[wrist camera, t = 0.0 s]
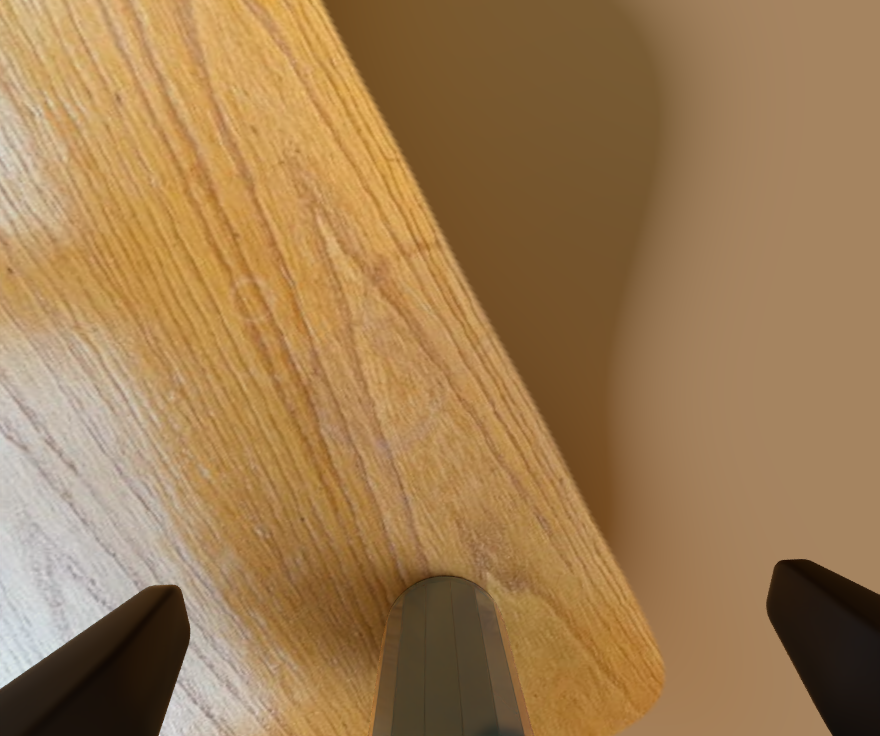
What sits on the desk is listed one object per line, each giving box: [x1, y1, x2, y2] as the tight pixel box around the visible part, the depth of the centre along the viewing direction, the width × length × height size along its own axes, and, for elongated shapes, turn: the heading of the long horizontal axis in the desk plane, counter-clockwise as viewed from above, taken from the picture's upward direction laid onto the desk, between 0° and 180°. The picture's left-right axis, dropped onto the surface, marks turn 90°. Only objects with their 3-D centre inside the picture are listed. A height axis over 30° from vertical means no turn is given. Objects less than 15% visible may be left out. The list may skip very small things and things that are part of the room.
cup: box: [368, 576, 534, 736], centre depth 17 cm, size 5×5×11 cm
